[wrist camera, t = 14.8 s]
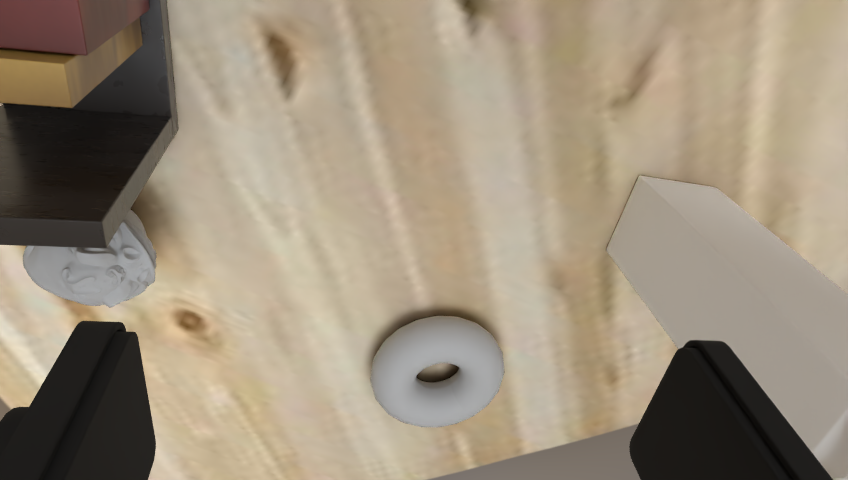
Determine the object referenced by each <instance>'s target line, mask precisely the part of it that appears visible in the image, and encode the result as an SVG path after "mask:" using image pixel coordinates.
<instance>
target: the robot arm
mask: <svg viewBox="0 0 848 480" xmlns="http://www.w3.org/2000/svg"><path fill="white" fill-rule="evenodd" d="M155 449H156V442H155V435H154V429H153V423H152V417H151V411H150V405H149V400H148V394H147V388H146V382H145V376H144V371H143V365H142V359H141V353H140V347H139V341H138V337H137V334H136V333H135V332H126V329H125V326H124V324H123V323H121V322H98V321H82V322H80V323H79V324H78V325H77V326H76V327H75V329H74V331H73V332H72V334H71V336H70V338H69V339H68V341H67V343H66V345H65V346H64V348H63V350H62V351H61V353H60V355H59V357H58V358H57V360H56V362H55V363H54V365H53V367H52V369H51V370H50V372H49V374H48V376H47V377H46V379H45V381H44V382H43V384H42V386H41V388H40V389H39V391H38V393H37V394H36V396H35V398H34V400H33V401H32V403H31V405H30V407H17V408H13V409H12V410H11V411H9V412H8V413H6V415H5V416H4V417H3V419H2V420H1V421H0V480H148V477H149V474H150V471H151V468H152V465H153V461H154V456H155ZM630 456H631V459H632V462H633V464H634V466H635V468H636V470H637V472H638V474H639V476H640V479H641V480H833V479H832V478H831V476H830V475H829V474H828V472H827V471H826V470H825V469H824V467H823V466H822V465H821V463H820V462H819V461H818V460H817V458H816V457H815V456H814V454H813V453H812V452H811V451H810V449H809V448H808V447H807V446H806V444H805V443H804V442H803V440H802V439H801V438H800V437H799V435H798V434H797V433H796V431H795V430H794V429H793V428H792V426H791V425H790V424H789V422H788V421H787V420H786V419H785V417H784V416H783V415H782V413H781V412H780V411H779V410H778V408H777V407H776V406H775V404H774V403H773V402H772V401H771V399H770V398H769V397H768V395H767V394H766V393H765V392H764V390H763V389H762V388H761V386H760V385H759V384H758V383H757V381H756V380H755V379H754V377H753V376H752V375H751V374H750V372H749V371H748V370H747V368H746V367H745V366H744V365H743V363H742V362H741V361H740V359H739V358H738V357H737V356H736V354H735V353H734V352H733V350H732V349H731V348H730V347H729V346H728V345H727V344H726V343H725V342H722V341H710V340H690V341H688V342H687V343H686V344H685V345H684V346H683V348H680V349H678V350H677V352H676V353H675V355H674V357H673V359H672V361H671V363H670V365H669V367H668V369H667V370H666V372H665V374H664V376H663V378H662V380H661V382H660V384H659V386H658V388H657V390H656V392H655V394H654V396H653V398H652V400H651V402H650V403H649V405H648V407H647V409H646V411H645V413H644V415H643V417H642V419H641V421H640V423H639V425H638V427H637V429H636V431H635V433H634V435H633V437H632V439H631V441H630Z"/></svg>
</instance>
